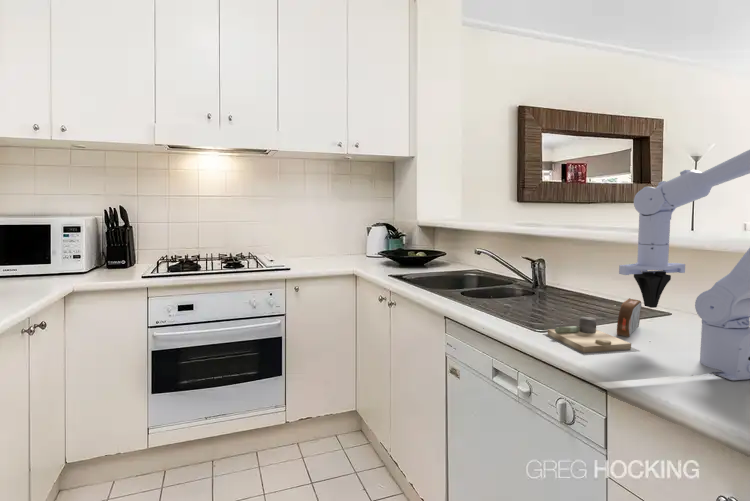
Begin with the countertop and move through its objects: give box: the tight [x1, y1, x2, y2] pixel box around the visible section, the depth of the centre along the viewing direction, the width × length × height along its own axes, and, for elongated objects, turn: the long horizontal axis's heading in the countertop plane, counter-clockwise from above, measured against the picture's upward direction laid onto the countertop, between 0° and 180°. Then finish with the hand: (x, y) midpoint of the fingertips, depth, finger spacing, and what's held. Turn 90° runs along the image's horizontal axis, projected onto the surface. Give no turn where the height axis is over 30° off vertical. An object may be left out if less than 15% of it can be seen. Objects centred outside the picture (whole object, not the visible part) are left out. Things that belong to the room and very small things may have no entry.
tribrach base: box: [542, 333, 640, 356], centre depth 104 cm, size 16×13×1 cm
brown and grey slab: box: [616, 297, 642, 338], centre depth 113 cm, size 15×3×8 cm, turn 141°
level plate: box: [547, 316, 632, 352], centre depth 104 cm, size 14×11×4 cm
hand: (650, 306), depth 101 cm, fingers closed
